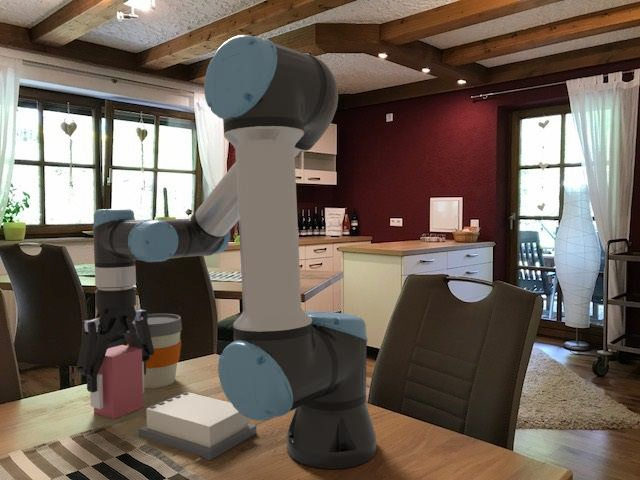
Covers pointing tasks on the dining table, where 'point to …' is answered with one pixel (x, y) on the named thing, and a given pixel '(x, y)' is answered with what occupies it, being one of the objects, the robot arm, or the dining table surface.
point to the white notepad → (197, 425)
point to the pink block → (121, 381)
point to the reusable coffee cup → (163, 349)
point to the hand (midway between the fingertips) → (118, 399)
